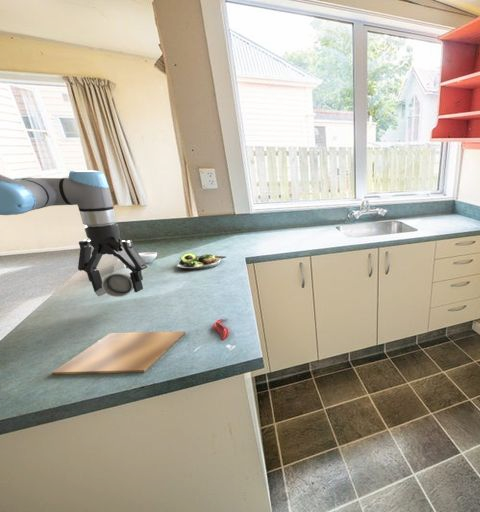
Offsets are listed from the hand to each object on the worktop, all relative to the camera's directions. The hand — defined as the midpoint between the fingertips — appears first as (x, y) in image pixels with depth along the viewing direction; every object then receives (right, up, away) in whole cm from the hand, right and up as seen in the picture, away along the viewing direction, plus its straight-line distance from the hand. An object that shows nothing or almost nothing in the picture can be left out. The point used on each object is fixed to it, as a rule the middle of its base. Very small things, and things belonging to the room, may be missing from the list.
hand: (119, 290), depth 95 cm
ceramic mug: (0, -1, 0) cm, 1 cm away
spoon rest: (-25, +6, +37) cm, 45 cm away
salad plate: (0, +7, +41) cm, 42 cm away
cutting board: (+20, -13, -21) cm, 32 cm away
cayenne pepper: (+39, -10, -11) cm, 42 cm away
